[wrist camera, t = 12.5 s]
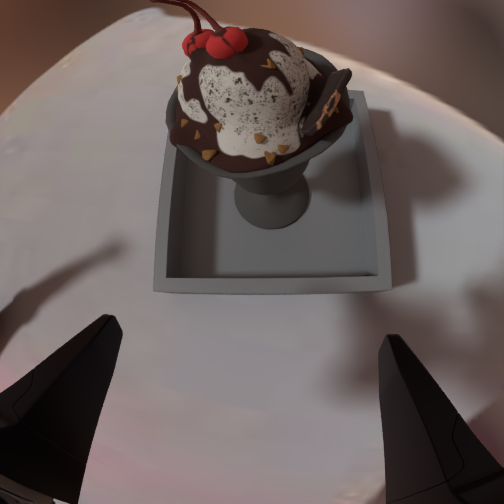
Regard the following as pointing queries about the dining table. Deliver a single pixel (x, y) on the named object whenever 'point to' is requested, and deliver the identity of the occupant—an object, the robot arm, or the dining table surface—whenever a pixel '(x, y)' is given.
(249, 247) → the tray
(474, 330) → the dining table surface
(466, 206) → the dining table surface
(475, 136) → the dining table surface
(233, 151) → the sundae
